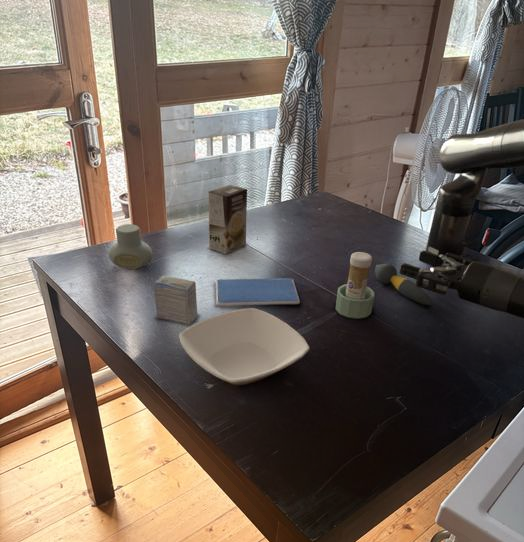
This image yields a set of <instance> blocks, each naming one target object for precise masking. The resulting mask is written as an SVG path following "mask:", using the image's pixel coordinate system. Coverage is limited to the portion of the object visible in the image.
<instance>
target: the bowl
mask: <svg viewBox="0 0 524 542" xmlns="http://www.w3.org/2000/svg"><path fill="white" fill-rule="evenodd" d="M178 337H179V342H180V345H181V346H182V348H183V349H184V351H185V352H186V354H187V355H188V356H189V357H190V358H191V360H193V361H194V363H196V364H197V365H198V366H200V367H201V368H202V369H204V370H205V371H206V372H208V373H209V374H211V375H212V376H214V377H216V378H218V379H220V380H222V381H224V382H227V383H229V384H231V385H234V386H244V385H248V384H252V383H255V382H259V381H261V380H264V379H266V378H268V377H269V376H272V375H274V374H276V373H277V372H279V371H282V370H283V369H285V368H287V367H289V366H291V365H292V364H294V363H295V362H297V361H299V360H300V359H302V358H303V357H304V356H305V355H307V353H308V352H309V351H310V345H309V344H308V343H307V341H306V339H305V338H304V336H302V335H301V334H300V333H299V332H298V331H297V330H296V329H294V328H293V327H292V326H291V325H289V323H286V322H284V321H283V320H282V319H280V318H279V317H276V316H275V315H273V314H271V313H268V312H266V311H265V310H260V309H258V308H255V307H250V308H241V309H236V310H231V311H228V312H223V313H219V314H215V315H213V316H211V317H208V318H205V319H203V320H201V321H198V322H196V323H194V324H192V325H190V326H188V327H187V328H185V329H184V330H182V332H180V333H179V335H178Z"/></svg>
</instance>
